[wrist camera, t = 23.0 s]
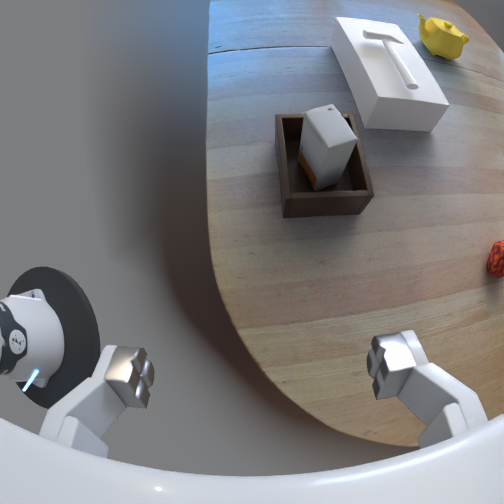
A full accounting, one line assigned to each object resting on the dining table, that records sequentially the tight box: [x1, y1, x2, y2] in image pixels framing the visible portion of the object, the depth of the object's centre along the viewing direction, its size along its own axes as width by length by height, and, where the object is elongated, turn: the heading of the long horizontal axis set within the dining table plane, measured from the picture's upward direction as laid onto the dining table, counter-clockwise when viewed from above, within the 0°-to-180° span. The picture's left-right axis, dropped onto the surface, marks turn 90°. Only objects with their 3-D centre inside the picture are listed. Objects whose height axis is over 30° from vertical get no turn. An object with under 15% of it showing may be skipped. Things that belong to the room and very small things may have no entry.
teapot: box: [417, 14, 469, 60], centre depth 45 cm, size 18×11×11 cm, turn 90°
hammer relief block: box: [331, 17, 449, 132], centre depth 42 cm, size 14×25×11 cm, turn 5°
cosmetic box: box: [298, 104, 357, 191], centre depth 36 cm, size 6×4×12 cm
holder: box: [275, 114, 374, 218], centre depth 40 cm, size 12×14×7 cm
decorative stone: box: [487, 240, 504, 278], centre depth 35 cm, size 6×7×8 cm
